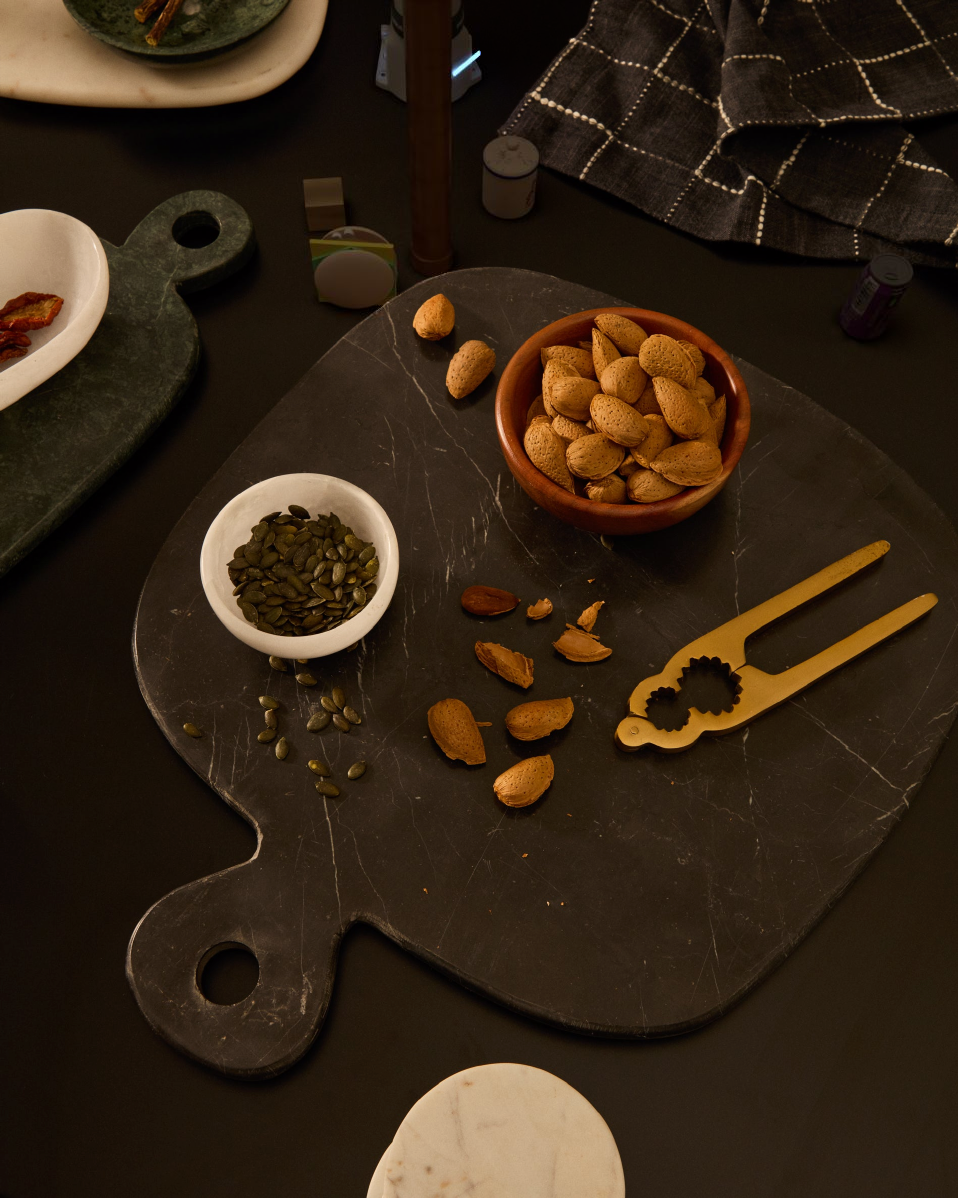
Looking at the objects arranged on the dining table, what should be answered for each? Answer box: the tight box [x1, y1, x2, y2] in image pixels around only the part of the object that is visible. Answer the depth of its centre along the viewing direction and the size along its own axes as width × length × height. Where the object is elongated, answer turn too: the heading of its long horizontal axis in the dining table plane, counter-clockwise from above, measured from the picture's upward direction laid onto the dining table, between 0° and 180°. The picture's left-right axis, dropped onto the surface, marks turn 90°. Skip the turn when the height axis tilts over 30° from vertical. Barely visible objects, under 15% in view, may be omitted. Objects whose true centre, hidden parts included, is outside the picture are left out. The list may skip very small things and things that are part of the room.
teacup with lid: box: [481, 135, 541, 220], centre depth 156 cm, size 12×9×12 cm
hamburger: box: [309, 225, 398, 310], centre depth 146 cm, size 12×8×12 cm
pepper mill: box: [402, 0, 454, 277], centre depth 132 cm, size 7×7×50 cm
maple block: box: [302, 176, 347, 232], centre depth 156 cm, size 6×6×5 cm
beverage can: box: [838, 252, 914, 341], centre depth 147 cm, size 7×7×12 cm
